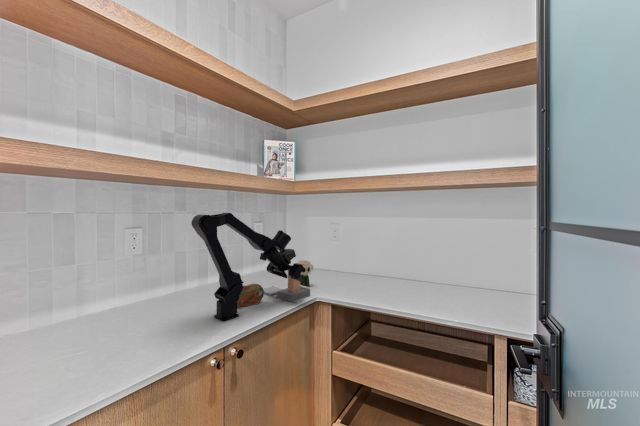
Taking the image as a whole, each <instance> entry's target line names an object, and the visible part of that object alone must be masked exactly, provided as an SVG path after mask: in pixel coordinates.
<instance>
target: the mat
mask: <svg viewBox="0 0 640 426" xmlns="http://www.w3.org/2000/svg"><path fill="white" fill-rule="evenodd" d="M283 289H284V288H280V287H277V286H273V285H272V286H269V287H266V288H263V290H264V295H266V296H269V297H273V296H275V295H277V291H280V290H283Z"/></svg>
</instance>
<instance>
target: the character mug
mask: <svg viewBox="0 0 640 426" xmlns="http://www.w3.org/2000/svg"><path fill="white" fill-rule="evenodd" d="M296 263H298V264H302V265H303V266H304V269H303V271H302V272H301V277H302V281H301V282H300V285H302V286H306V287H310V276H309V275H310V274H311V272H312V271H313V270H314V265H313V263H311V261H310V260H297V261H296Z"/></svg>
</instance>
